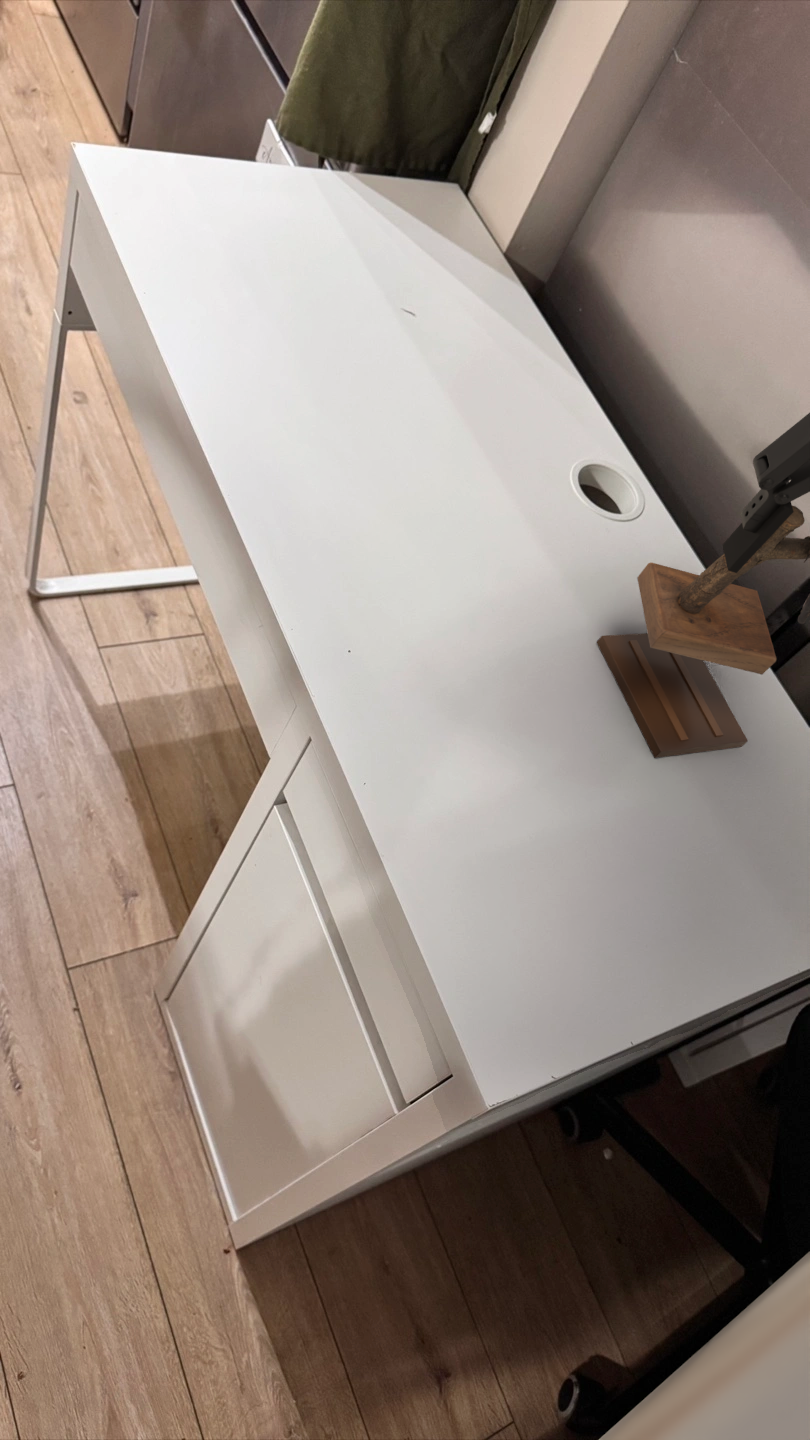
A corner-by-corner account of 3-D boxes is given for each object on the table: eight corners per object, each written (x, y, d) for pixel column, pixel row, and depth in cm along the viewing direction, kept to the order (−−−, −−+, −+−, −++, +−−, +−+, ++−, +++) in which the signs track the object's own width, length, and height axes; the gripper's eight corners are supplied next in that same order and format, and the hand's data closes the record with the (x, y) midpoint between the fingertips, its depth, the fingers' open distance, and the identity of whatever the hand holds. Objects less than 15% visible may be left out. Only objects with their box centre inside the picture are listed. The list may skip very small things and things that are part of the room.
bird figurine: (660, 710, 79) (883, 473, 60) (636, 577, 87) (825, 331, 68) (777, 736, 82) (1025, 518, 62) (744, 605, 90) (953, 377, 71)
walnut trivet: (741, 747, 89) (749, 740, 88) (654, 758, 84) (662, 750, 83) (681, 637, 94) (688, 629, 93) (596, 642, 89) (602, 634, 88)
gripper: (1140, 354, 65) (887, 581, 82) (864, 228, 59) (654, 500, 76) (1189, 428, 61) (912, 651, 78) (896, 300, 55) (665, 572, 72)
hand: (784, 577), depth 77 cm, fingers closed on bird figurine, 9 cm apart
